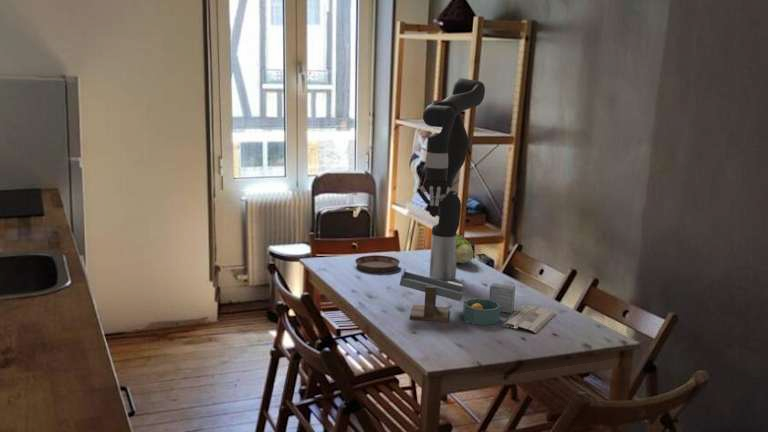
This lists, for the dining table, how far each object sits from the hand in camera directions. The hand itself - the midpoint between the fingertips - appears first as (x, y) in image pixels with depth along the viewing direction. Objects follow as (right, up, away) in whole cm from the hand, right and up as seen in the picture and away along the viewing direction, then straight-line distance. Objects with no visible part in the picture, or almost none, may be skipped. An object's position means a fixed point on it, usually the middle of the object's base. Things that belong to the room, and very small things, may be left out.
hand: (433, 216), depth 241 cm
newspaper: (+29, -34, -12) cm, 47 cm away
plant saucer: (-20, -21, +41) cm, 50 cm away
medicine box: (+22, -32, -4) cm, 39 cm away
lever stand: (-2, -32, -11) cm, 34 cm away
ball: (+13, -30, -12) cm, 35 cm away
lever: (-2, -24, -9) cm, 26 cm away
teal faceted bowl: (+14, -33, -13) cm, 38 cm away
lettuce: (+13, -19, +52) cm, 57 cm away
